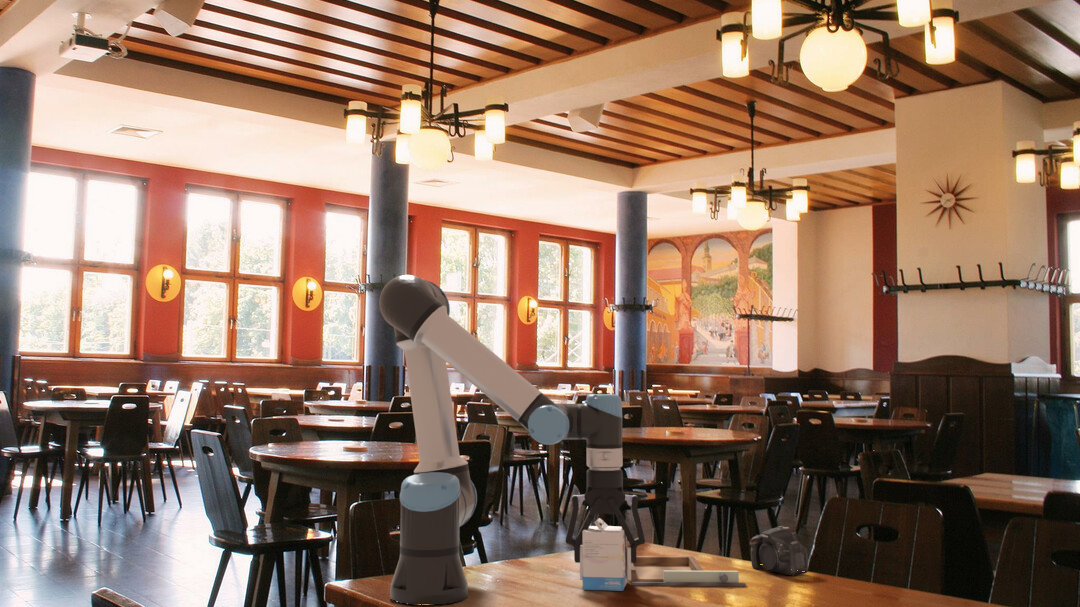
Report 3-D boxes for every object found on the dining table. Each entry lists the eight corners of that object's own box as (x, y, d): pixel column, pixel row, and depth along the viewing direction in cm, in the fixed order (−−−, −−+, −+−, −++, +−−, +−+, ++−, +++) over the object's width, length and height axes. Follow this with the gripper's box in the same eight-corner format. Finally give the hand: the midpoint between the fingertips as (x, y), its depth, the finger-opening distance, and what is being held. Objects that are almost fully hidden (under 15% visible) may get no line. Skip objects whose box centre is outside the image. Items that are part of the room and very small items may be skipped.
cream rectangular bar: (664, 585, 184) (664, 572, 184) (663, 583, 186) (663, 570, 186) (739, 585, 183) (739, 573, 184) (737, 583, 186) (737, 570, 186)
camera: (740, 571, 199) (739, 525, 200) (762, 564, 206) (761, 520, 207) (795, 580, 190) (794, 532, 190) (816, 572, 197) (815, 526, 198)
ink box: (623, 592, 179) (622, 524, 180) (581, 589, 180) (581, 522, 182) (627, 582, 187) (627, 517, 188) (588, 580, 189) (587, 516, 190)
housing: (630, 585, 184) (630, 572, 185) (625, 567, 202) (624, 555, 202) (746, 586, 184) (745, 573, 184) (730, 568, 201) (729, 556, 201)
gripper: (552, 470, 182) (552, 582, 180) (658, 470, 182) (660, 583, 180) (552, 466, 190) (552, 574, 188) (654, 466, 189) (656, 575, 187)
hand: (605, 578), depth 184 cm, fingers closed on ink box, 9 cm apart
